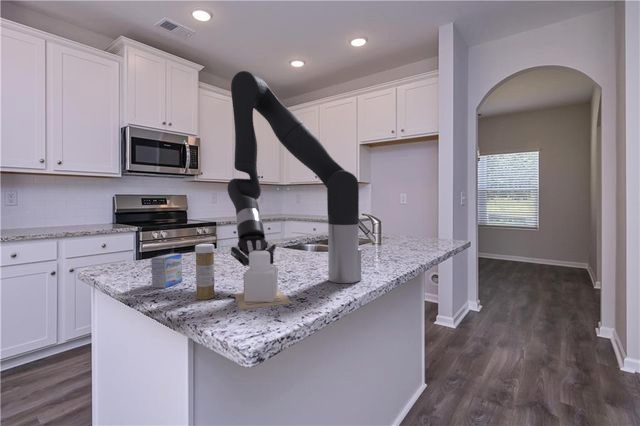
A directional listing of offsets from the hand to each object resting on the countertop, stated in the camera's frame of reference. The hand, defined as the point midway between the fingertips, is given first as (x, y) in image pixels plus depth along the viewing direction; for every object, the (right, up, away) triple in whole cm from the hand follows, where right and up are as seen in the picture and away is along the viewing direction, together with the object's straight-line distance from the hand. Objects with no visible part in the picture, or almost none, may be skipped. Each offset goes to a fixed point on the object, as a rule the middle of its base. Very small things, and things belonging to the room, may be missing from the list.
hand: (257, 276), depth 86 cm
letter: (+2, -5, -5) cm, 7 cm away
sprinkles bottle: (-12, -5, -4) cm, 14 cm away
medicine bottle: (+2, -5, -5) cm, 7 cm away
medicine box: (-28, -4, +10) cm, 30 cm away
